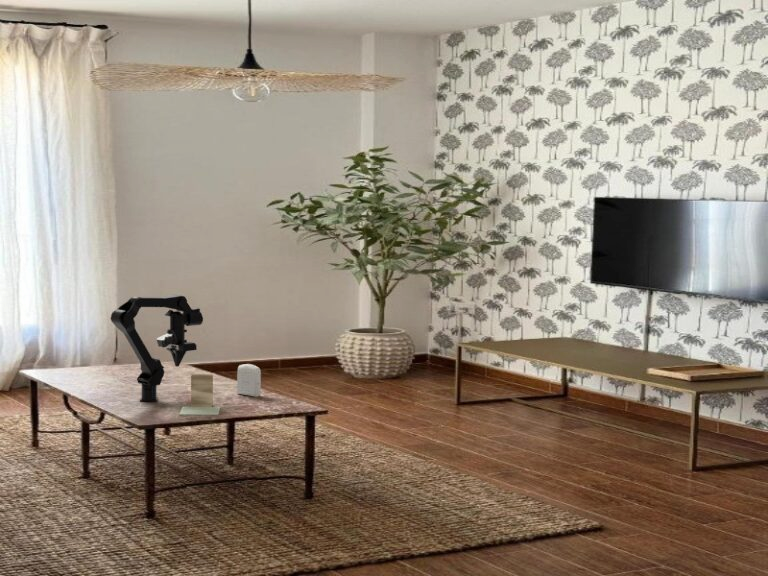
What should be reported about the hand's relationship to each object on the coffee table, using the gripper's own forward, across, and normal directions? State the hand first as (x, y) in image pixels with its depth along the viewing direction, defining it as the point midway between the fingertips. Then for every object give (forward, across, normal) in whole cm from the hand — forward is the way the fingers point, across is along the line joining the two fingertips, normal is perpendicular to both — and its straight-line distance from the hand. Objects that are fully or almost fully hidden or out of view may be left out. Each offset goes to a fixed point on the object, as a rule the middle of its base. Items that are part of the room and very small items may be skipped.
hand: (177, 366), depth 453 cm
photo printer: (+12, +14, +24) cm, 31 cm away
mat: (+12, +30, -10) cm, 34 cm away
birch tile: (+12, +22, -4) cm, 26 cm away
